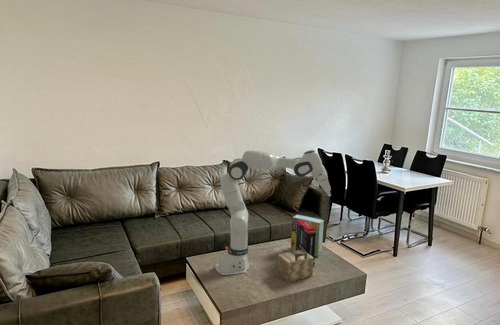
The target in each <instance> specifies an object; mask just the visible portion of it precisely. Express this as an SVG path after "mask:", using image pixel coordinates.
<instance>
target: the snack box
mask: <svg viewBox="0 0 500 325" xmlns="http://www.w3.org/2000/svg"><path fill="white" fill-rule="evenodd" d="M297 220H305V221H306V222H308V223H309V224H310V225H311V226H313V227H314V228H315V229H316V239H315V256H314V257H316V258H318V257H319V256H320V255H321V254H322V253H323V252H322V251H323V238H324V235H323V234H324V222H325V221H324V219H320V218H316V217H315V218H314V217H310V216H306V215H300V214H296V215H294V216H292V219H291V237H290V240H291V241H290V250H291V251H296V233H297Z"/></svg>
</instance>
